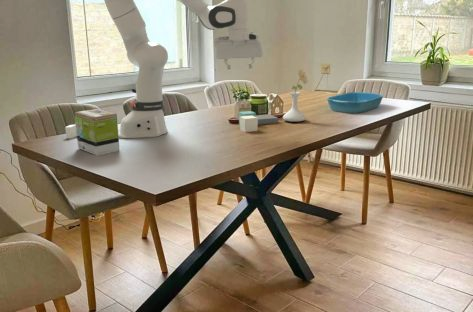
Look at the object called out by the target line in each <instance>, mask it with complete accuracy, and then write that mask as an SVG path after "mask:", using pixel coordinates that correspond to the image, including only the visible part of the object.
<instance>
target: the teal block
mask: <svg viewBox="0 0 473 312" xmlns="http://www.w3.org/2000/svg"><path fill="white" fill-rule="evenodd" d="M256 115H257V114H256V112H254V111H251V110H248V111H239V112H238V125H239V126H240V117H241V116H254V117H256Z"/></svg>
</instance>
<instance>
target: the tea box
mask: <svg viewBox="0 0 473 312" xmlns="http://www.w3.org/2000/svg"><path fill="white" fill-rule="evenodd" d="M117 115H118V113H114V112H110V111H106V110H103V109H98V108H93V109H87V110H86V109H85V110H81V111H75V112H74V121H75V123H74V124H76V133H77V136H76V139H77V140H76V141H77V149H78V150H83V151H85V152H87V153H89V154H91V155H93V156H94V155H95V156H96V157H98V156H103V155H107V154H112V153H115V152H119V151H121V150H120V138H119V136H118V130H119V127H118V117H117Z"/></svg>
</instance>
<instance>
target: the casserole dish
mask: <svg viewBox="0 0 473 312" xmlns="http://www.w3.org/2000/svg"><path fill="white" fill-rule="evenodd" d="M383 98H384V95H383V94H380V93H375V92H367V91H366V92H365V91H353V92H345V93H340V94H336V95H332V96H329V97H327V98H326V99H327V103H328V105H329V108H330V109H331V111H333V110H335V111H334V112H338V111H342V112H341V113H346V112H350V113H349V114H359V113H358V112H361V113H364V111H365V112H367V110H368V111H371V110H374V109H376V108H378V107H379V106H380V104H381V103H382V101H383ZM373 108H374V109H373ZM370 109H371V110H370Z"/></svg>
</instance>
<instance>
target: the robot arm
mask: <svg viewBox="0 0 473 312" xmlns="http://www.w3.org/2000/svg"><path fill="white" fill-rule="evenodd" d="M103 1H104V3H105V7H106V9H107V12H108V14H109V16H110V17H111V19H112V21H113V23H114V25H115V26H116V29H117V31H118V32H119V35H120V36H121V39H122V41H123V44H124V47H125V50H126V57H127V59H128V61H129V62H130V63H131V64H132V65H133V66H135V67H137V68H138V74H137V79H136V81H135V95H136V97H135V98H136V100H135V101H133V100H132V101H130V102H129V105H130V106H131V109H132V110H131V111H130V112H129V113H128V114H127V115H125V116H124V117H123V118H121V122H120V127H119V128H120V129H118V136H119V139H139V138H140V139H141V138H155V137H156V138H158V137H159V136H162V135H164V134H167V133H168V132H169V131H168V128H167V124H166V121H165V115H164V114H165V102H164V100H163V85H162V84H163V75H164V70H165V66H166V64H167V62H168V60H169V56H168V55H169V54H168V50H167V49H166V48H165V47H164V46H163V45H161V44H159V43H158V42H155V41H154V42H152V41H150V40H149V37H148V33H147V30H146V29H147V28H146V22H145V21H144V18H143V16H142V14H141V13H140V10H139V9H138V6H137V5H136V2H134V0H103ZM177 1H178V2H180V3H181V4H182V5H184V6H185V7H186V8H187V9H188V10H190V11H191V12H192V13H194V14H195V15H196V16H197V19H199V21H200V23H201V24H202V26H203V27H204V28H206V29H207V30H209V31H210V30H211V31H212V30H213V31H214V30H222V29H224V28H225V29H226V28H227V36H217V37H216V38H215V39H214V42H213V43H214V47H215V58H216V59H217V60H224V61H223V62H224V63H225V65H226V69H227V70H231V64H229V63H228V59H231V60H232V59H250V60H251V61H250V62H251V63H248V69H253V64H254V62H255V58H261V57H263V46H262V43H261V41H260V40H259V39H260V36H259V35H260V34H257V33H254V32H252V31H249V25H248V19H249V11H248V9H249V8H248V3H247V1H246V0H224V1H221V2H220V3H218V4H215V5H211V4H208V3H206V2H205V1H204V0H177Z"/></svg>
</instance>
